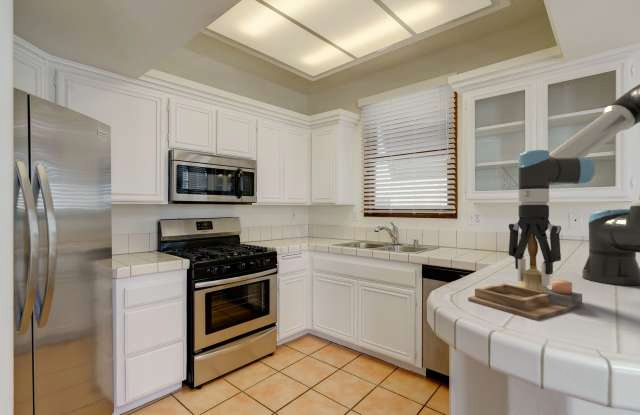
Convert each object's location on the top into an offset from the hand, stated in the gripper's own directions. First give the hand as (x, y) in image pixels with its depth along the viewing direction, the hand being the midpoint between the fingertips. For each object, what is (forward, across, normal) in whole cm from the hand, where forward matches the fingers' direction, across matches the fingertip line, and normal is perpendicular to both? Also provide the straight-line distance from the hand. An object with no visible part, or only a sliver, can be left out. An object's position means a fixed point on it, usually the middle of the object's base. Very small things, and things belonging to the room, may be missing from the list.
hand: (533, 282), depth 97 cm
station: (+2, +6, -16) cm, 17 cm away
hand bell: (+2, 0, 0) cm, 2 cm away
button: (-1, +12, -9) cm, 15 cm away
